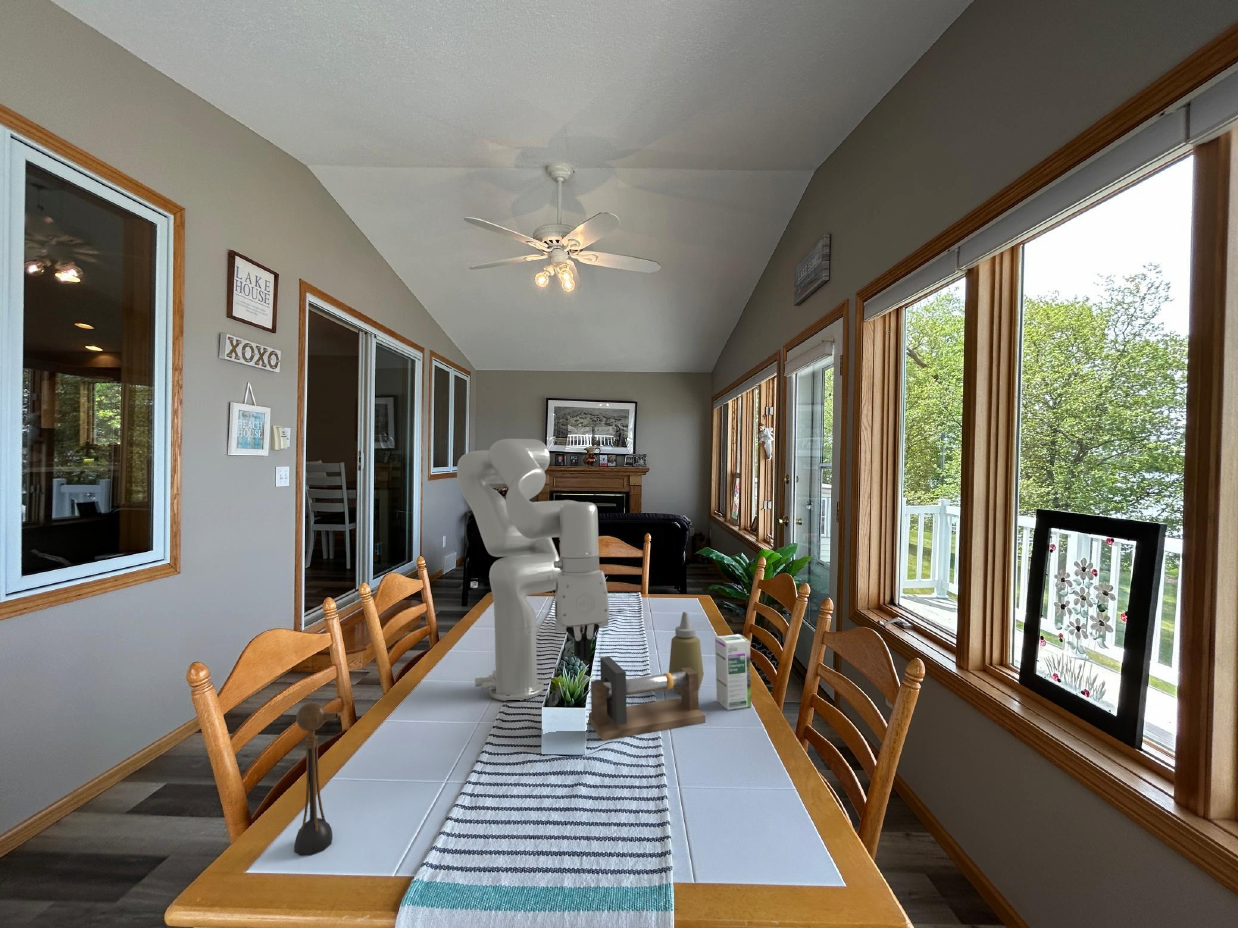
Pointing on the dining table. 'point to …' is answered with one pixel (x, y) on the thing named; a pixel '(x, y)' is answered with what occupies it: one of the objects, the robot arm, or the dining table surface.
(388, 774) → the dining table surface
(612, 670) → the dark grey square plate
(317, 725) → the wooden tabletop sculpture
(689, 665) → the squeeze bottle
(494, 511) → the robot arm
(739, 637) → the syrup box
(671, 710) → the pipe stand
